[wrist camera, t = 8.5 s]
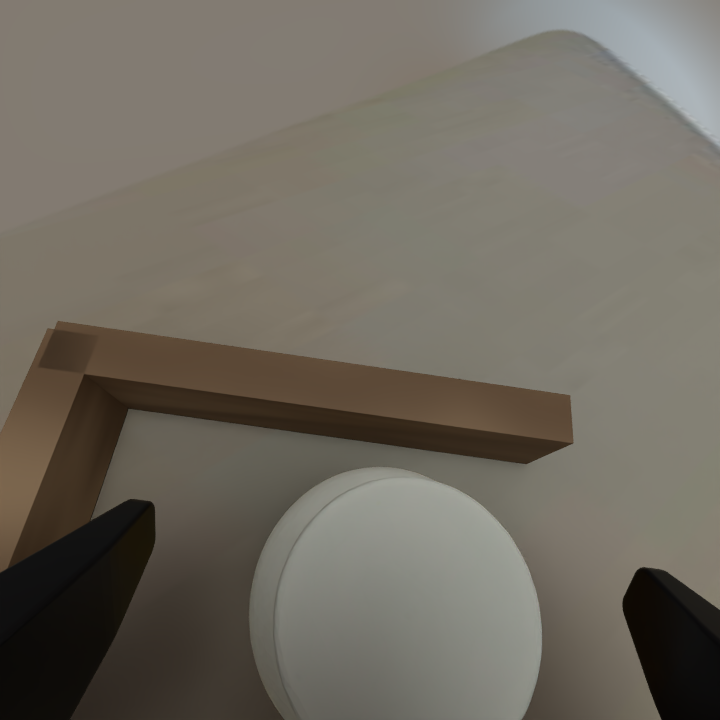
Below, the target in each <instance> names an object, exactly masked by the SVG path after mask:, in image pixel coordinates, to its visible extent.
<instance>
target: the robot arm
mask: <svg viewBox="0 0 720 720" xmlns="http://www.w3.org/2000/svg"><path fill="white" fill-rule="evenodd" d="M154 544H155V507H154V504H153V503H152V502H150V501H144V500H137V499H130V500H127V501H125V502H123V503H121V504H120V505H118V506H116V507H114V508H113V509H111V510H109V511H107V512H106V513H104V514H102V515H100V516H99V517H97V518H95V519H93V520H92V521H90V522H88V523H86V524H84V525H83V526H81V527H79V528H77V529H76V530H74V531H72V532H70V533H69V534H67V535H65V536H63V537H62V538H60V539H58V540H56V541H55V542H53V543H51V544H49V545H48V546H46V547H44V548H42V549H40V550H39V551H37V552H35V553H33V554H32V555H30V556H28V557H26V558H25V559H23V560H21V561H19V562H18V563H16V564H14V565H12V566H11V567H9V568H7V569H5V570H3V571H2V572H0V720H70V718H71V716H72V714H73V713H74V711H75V709H76V707H77V705H78V703H79V702H80V700H81V698H82V696H83V694H84V693H85V691H86V689H87V687H88V685H89V684H90V682H91V680H92V678H93V676H94V675H95V673H96V671H97V669H98V667H99V666H100V664H101V662H102V660H103V658H104V657H105V655H106V653H107V651H108V649H109V647H110V645H111V643H112V642H113V640H114V638H115V636H116V634H117V631H118V629H119V627H120V625H121V623H122V620H123V618H124V616H125V613H126V611H127V609H128V606H129V604H130V602H131V599H132V597H133V595H134V593H135V590H136V588H137V586H138V583H139V581H140V579H141V576H142V574H143V572H144V569H145V567H146V565H147V562H148V560H149V558H150V555H151V553H152V551H153V547H154ZM623 612H624V616H625V619H626V622H627V625H628V628H629V631H630V633H631V636H632V639H633V642H634V645H635V648H636V651H637V654H638V657H639V660H640V663H641V666H642V669H643V672H644V675H645V677H646V680H647V683H648V686H649V689H650V692H651V694H652V697H653V700H654V703H655V705H656V707H657V710H658V712H659V715H660V717H661V720H720V610H719V609H718V608H716V607H715V606H714V605H712V604H711V603H709V602H708V601H707V600H705V599H704V598H702V597H701V596H700V595H698V594H697V593H695V592H694V591H693V590H691V589H690V588H688V587H687V586H686V585H684V584H683V583H682V582H680V581H679V580H677V579H676V578H675V577H673V576H672V575H670V574H669V573H668V572H666V571H664V570H661V569H654V568H646V567H642V568H640V569H638V570H637V571H636V573H635V575H634V577H633V579H632V581H631V583H630V585H629V587H628V589H627V591H626V593H625V595H624V598H623Z"/></svg>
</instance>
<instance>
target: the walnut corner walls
mask: <svg viewBox="0 0 720 720" xmlns="http://www.w3.org/2000/svg"><path fill="white" fill-rule="evenodd" d="M128 408H130V409H137V410H144V411H151V412H159V413H166V414H173V415H180V416H187V417H194V418H202V419H209V420H216V421H223V422H230V423H237V424H244V425H252V426H259V427H266V428H273V429H280V430H287V431H294V432H302V433H309V434H316V435H323V436H330V437H337V438H344V439H352V440H359V441H366V442H373V443H380V444H387V445H395V446H402V447H409V448H416V449H423V450H430V451H437V452H445V453H452V454H459V455H466V456H473V457H480V458H487V459H495V460H502V461H509V462H516V463H523V464H527V463H530V462H532V461H534V460H537V459H539V458H541V457H543V456H546V455H548V454H550V453H552V452H555V451H557V450H559V449H562V448H564V447H566V446H568V445H571V444H573V430H572V416H571V401H570V395H565V394H558V393H551V392H544V391H537V390H530V389H523V388H516V387H510V386H503V385H496V384H489V383H482V382H475V381H468V380H461V379H454V378H448V377H441V376H434V375H427V374H420V373H413V372H406V371H399V370H392V369H385V368H379V367H372V366H365V365H358V364H351V363H344V362H337V361H330V360H323V359H317V358H310V357H303V356H296V355H289V354H282V353H275V352H268V351H261V350H254V349H248V348H241V347H234V346H227V345H220V344H213V343H206V342H199V341H192V340H186V339H179V338H172V337H165V336H158V335H151V334H144V333H137V332H130V331H124V330H117V329H110V328H103V327H96V326H89V325H82V324H75V323H68V322H61V321H58V322H57V324H56V327H55V329H47V331H46V334H45V336H44V338H43V340H42V343H41V345H40V347H39V349H38V351H37V354H36V356H35V358H34V360H33V363H32V365H31V367H30V369H29V371H28V374H27V376H26V378H25V380H24V383H23V385H22V387H21V389H20V391H19V394H18V396H17V398H16V400H15V403H14V405H13V407H12V409H11V411H10V414H9V416H8V418H7V420H6V422H5V425H4V427H3V429H2V431H1V434H0V572H2V571H3V570H5V569H7V568H9V567H11V566H12V565H14V564H16V563H18V562H19V561H21V560H23V559H25V558H26V557H28V556H30V555H32V554H33V553H35V552H37V551H39V550H40V549H42V548H44V547H46V546H48V545H49V544H51V543H53V542H55V541H56V540H58V539H60V538H62V537H63V536H65V535H67V534H69V533H70V532H72V531H74V530H76V529H77V528H79V527H81V526H83V525H84V524H86V523H88V522H90V519H91V516H92V513H93V510H94V507H95V504H96V501H97V498H98V495H99V492H100V490H101V487H102V484H103V481H104V478H105V475H106V472H107V469H108V466H109V463H110V460H111V457H112V454H113V451H114V449H115V446H116V443H117V440H118V437H119V434H120V431H121V428H122V425H123V422H124V419H125V416H126V413H127V411H128Z"/></svg>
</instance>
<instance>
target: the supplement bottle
mask: <svg viewBox="0 0 720 720" xmlns="http://www.w3.org/2000/svg"><path fill="white" fill-rule="evenodd" d="M249 628H250V639H251V646H252V650H253V655H254V660H255V663H256V666H257V670H258V673H259V675H260V678H261V681H262V683H263V685H264V687H265V690H266V692H267V694H268V696H269V697H270V699H271V701H272V702H273V704H274V706H275V708H276V709H277V710H278V712H279V713H280V714H281V716H282V717H283V719H284V720H522V719H523V717H524V715H525V713H526V711H527V709H528V706H529V704H530V701H531V698H532V695H533V692H534V689H535V686H536V682H537V679H538V673H539V668H540V662H541V654H542V624H541V617H540V608H539V603H538V598H537V593H536V589H535V586H534V583H533V580H532V577H531V574H530V571H529V569H528V567H527V565H526V563H525V560H524V558H523V556H522V554H521V552H520V551H519V549H518V548H517V546H516V544H515V543H514V541H513V539H512V538H511V536H510V534H509V533H508V532H507V531H506V530H505V529H504V527H503V526H502V525H501V524H500V523H499V522H498V521H497V519H496V518H495V517H494V516H493V515H492V514H491V513H490V512H489V511H487V510H486V509H485V508H484V507H483V506H482V505H481V504H479V503H478V502H477V501H476V500H474V499H473V498H471V497H470V496H468V495H466V494H464V493H463V492H461V491H459V490H458V489H456V488H454V487H451V486H448V485H446V484H443V483H440V482H437V481H435V480H432V479H430V478H428V477H426V476H424V475H422V474H419V473H416V472H412V471H409V470H405V469H400V468H393V467H367V468H359V469H355V470H350V471H346V472H343V473H341V474H338V475H335V476H333V477H331V478H328V479H326V480H324V481H322V482H321V483H319V484H318V485H316V486H314V487H313V488H311V489H310V490H309V491H307V492H306V493H305V494H304V495H302V496H301V497H300V498H299V499H298V500H297V501H296V502H295V503H294V504H293V505H292V506H291V507H290V508H289V509H288V510H287V511H286V512H285V514H284V515H283V516H282V518H281V519H280V520H279V522H278V523H277V524H276V526H275V527H274V529H273V530H272V532H271V534H270V536H269V537H268V539H267V541H266V543H265V545H264V547H263V550H262V552H261V555H260V557H259V560H258V563H257V566H256V570H255V573H254V577H253V582H252V587H251V594H250V605H249Z"/></svg>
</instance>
